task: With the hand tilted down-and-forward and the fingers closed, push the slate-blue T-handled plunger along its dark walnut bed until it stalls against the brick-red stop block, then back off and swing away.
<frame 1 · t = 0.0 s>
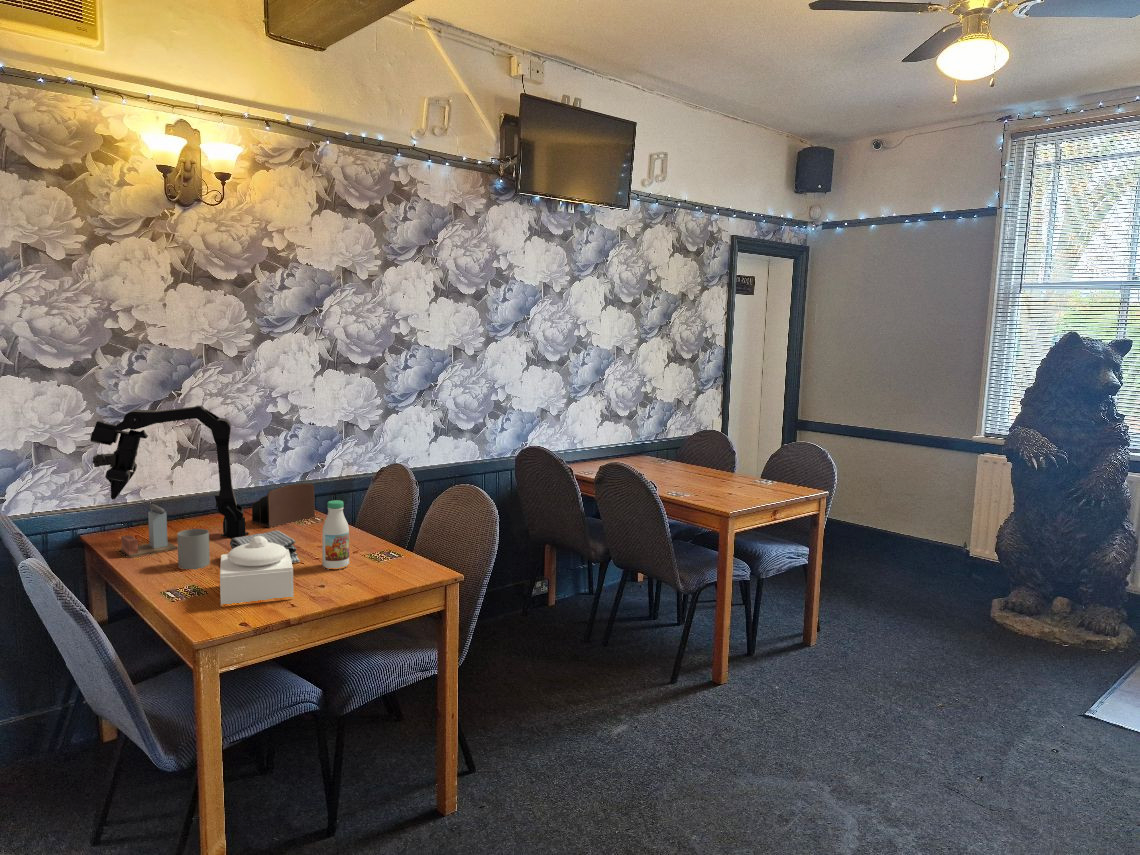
hand: (115, 495, 246), 15 cm above the table, tool pointing down, fingers open, 9 cm apart
bed: (158, 548, 244), on the table
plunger: (157, 526, 243), point 7 cm above the table, slide at 0.0 cm
cup: (194, 565, 229), on the table
letter holder: (284, 521, 282), on the table
towel: (264, 562, 236), on the table
butter dish: (256, 593, 209), on the table
milk bottle: (335, 567, 232), on the table
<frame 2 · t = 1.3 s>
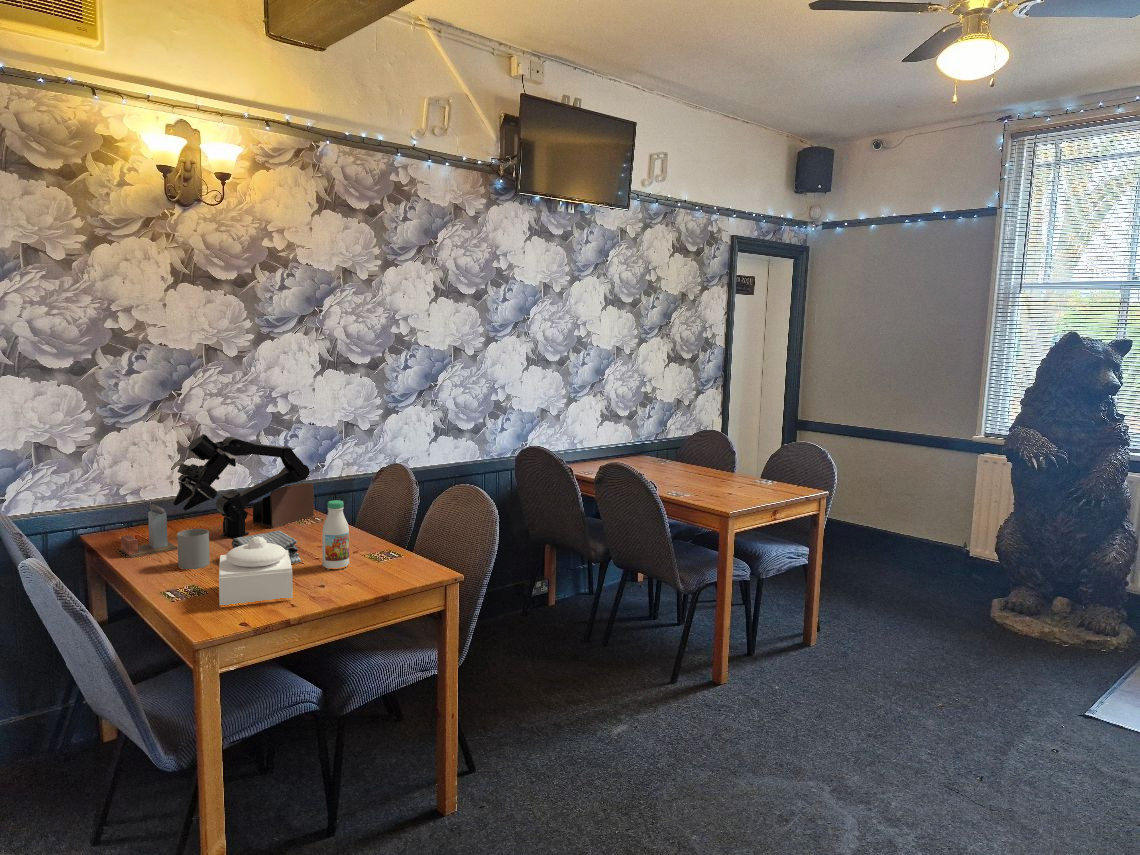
hand: (179, 507, 247), 12 cm above the table, tool tilted 45°, fingers open, 8 cm apart
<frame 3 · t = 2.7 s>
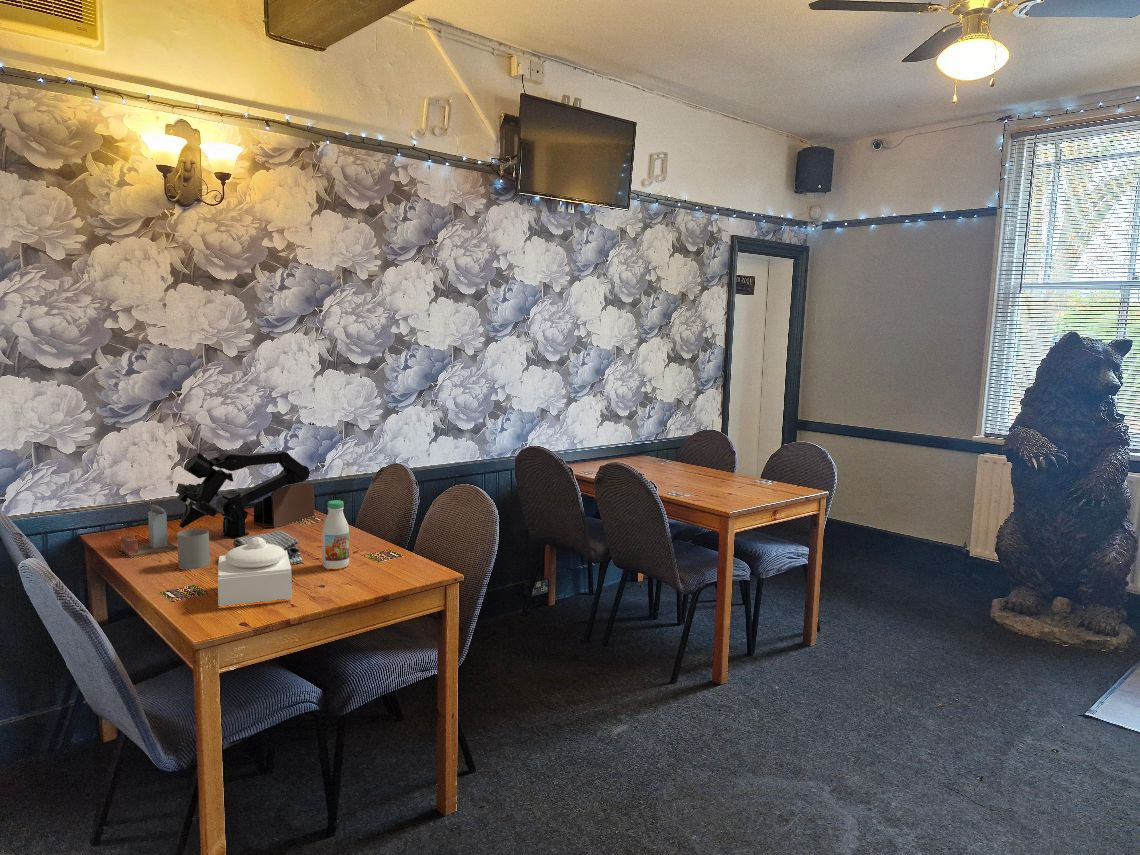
hand: (180, 527, 248), 6 cm above the table, tool tilted 40°, fingers closed
letter holder: (284, 521, 282), on the table, touching arm
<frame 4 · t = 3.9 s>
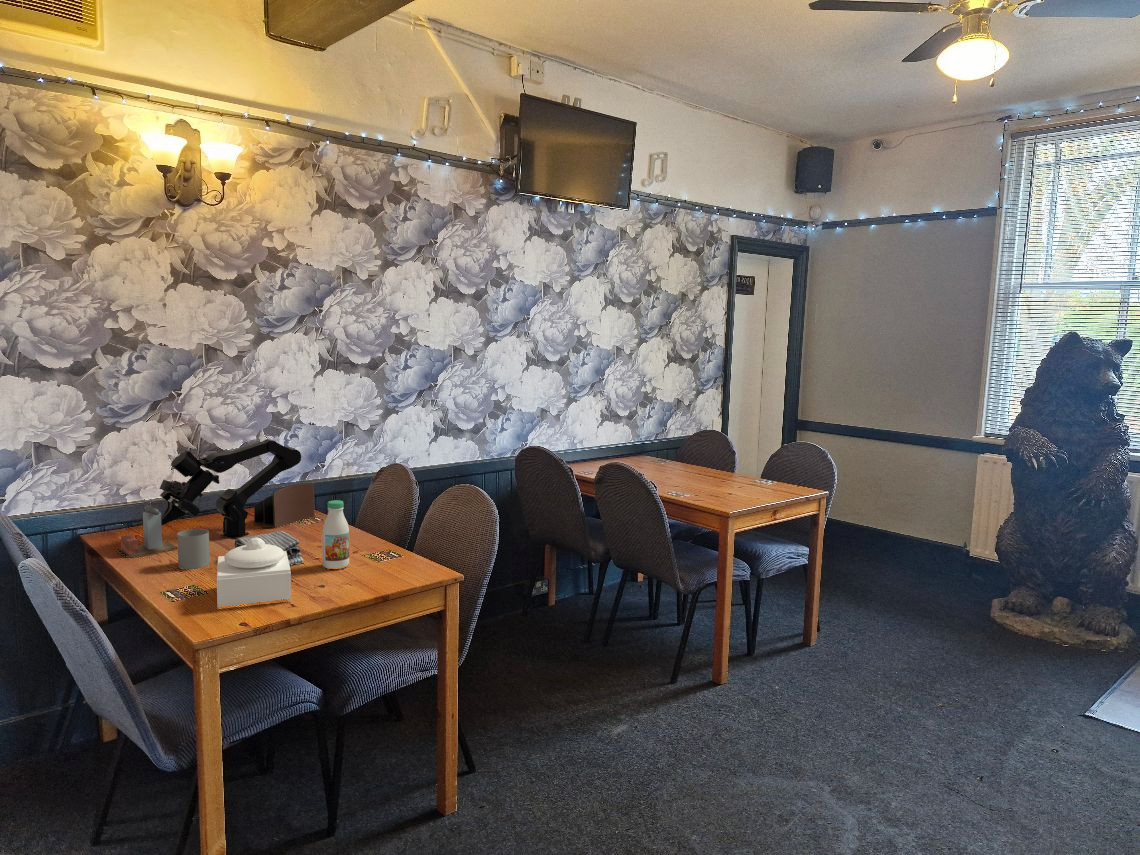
hand: (160, 524, 243), 8 cm above the table, tool tilted 45°, fingers closed, pressing on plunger
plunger: (152, 527, 242), point 7 cm above the table, slide at 1.6 cm, touching gripper
letter holder: (285, 521, 282), on the table
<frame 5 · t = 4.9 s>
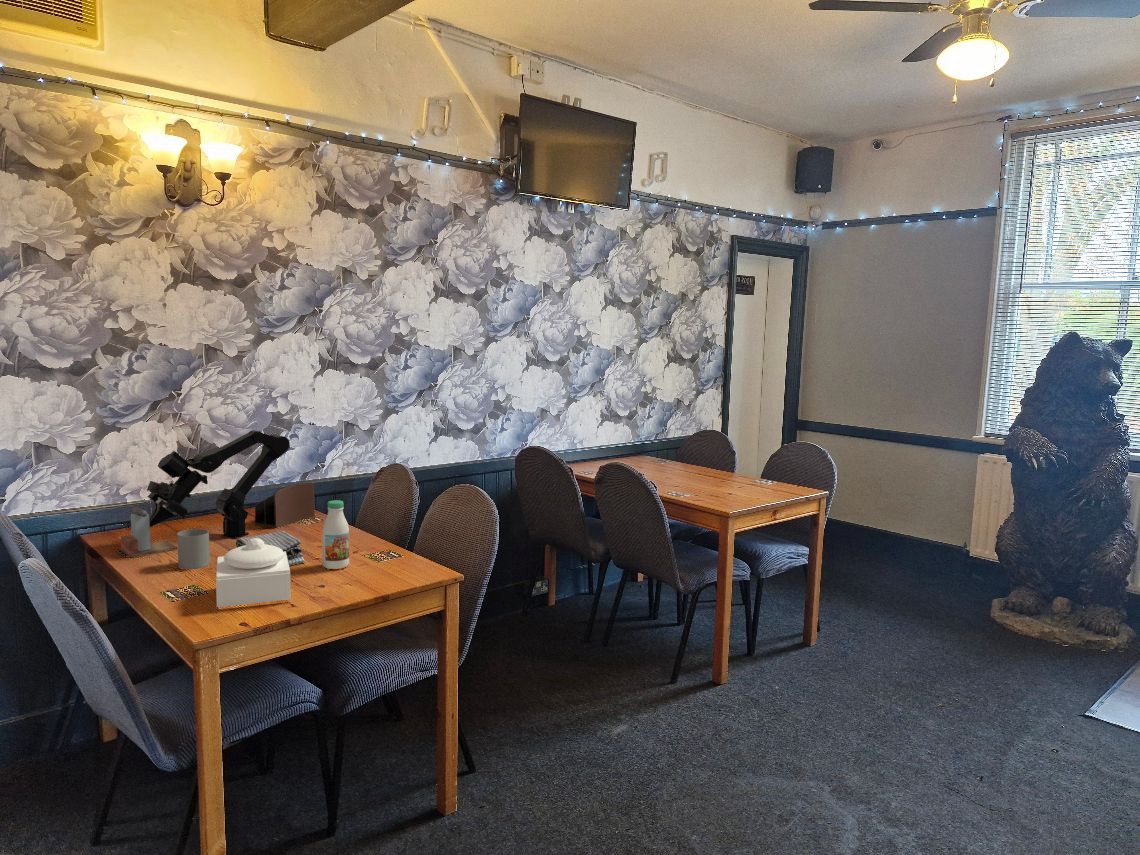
hand: (148, 526, 241), 8 cm above the table, tool tilted 45°, fingers closed, pressing on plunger
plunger: (140, 528, 239), point 7 cm above the table, slide at 5.0 cm, touching bed, gripper
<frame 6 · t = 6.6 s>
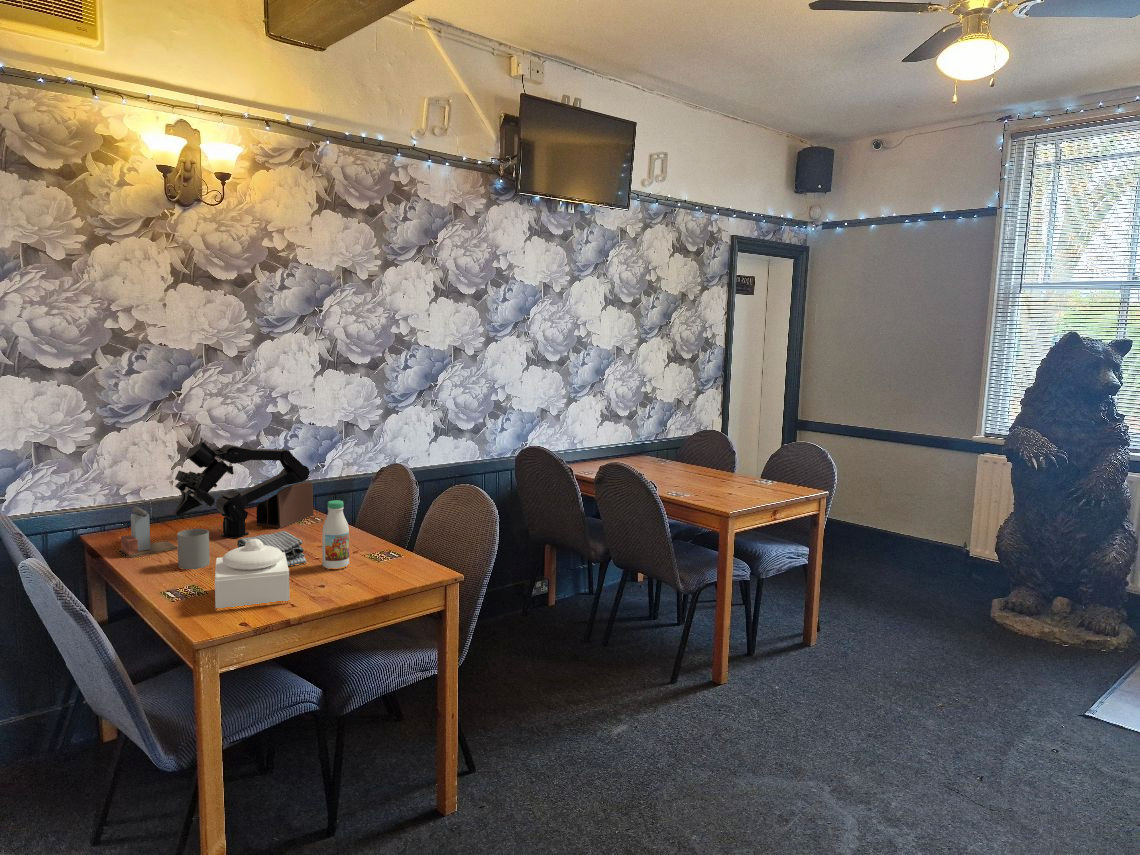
hand: (176, 514, 246), 10 cm above the table, tool tilted 45°, fingers closed
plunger: (140, 528, 239), point 7 cm above the table, slide at 5.0 cm, touching bed
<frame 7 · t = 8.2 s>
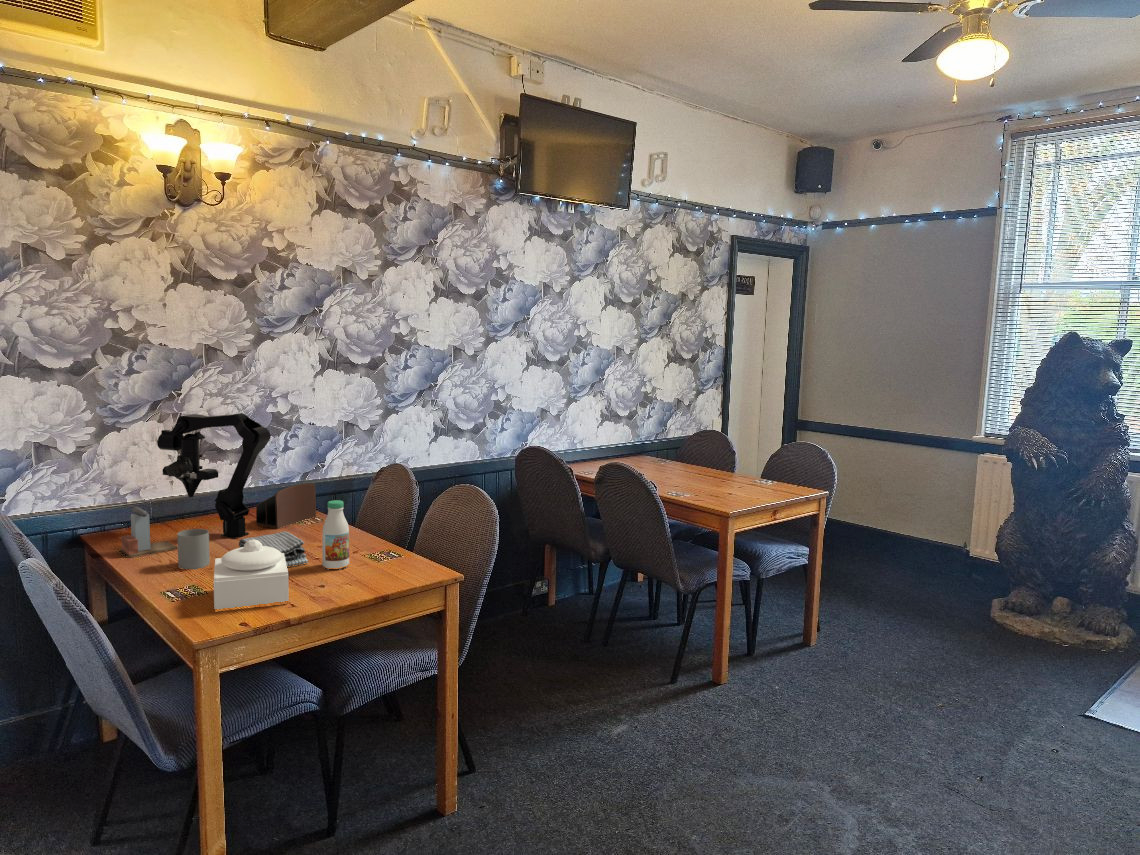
hand: (190, 497, 262), 12 cm above the table, tool pointing down, fingers closed
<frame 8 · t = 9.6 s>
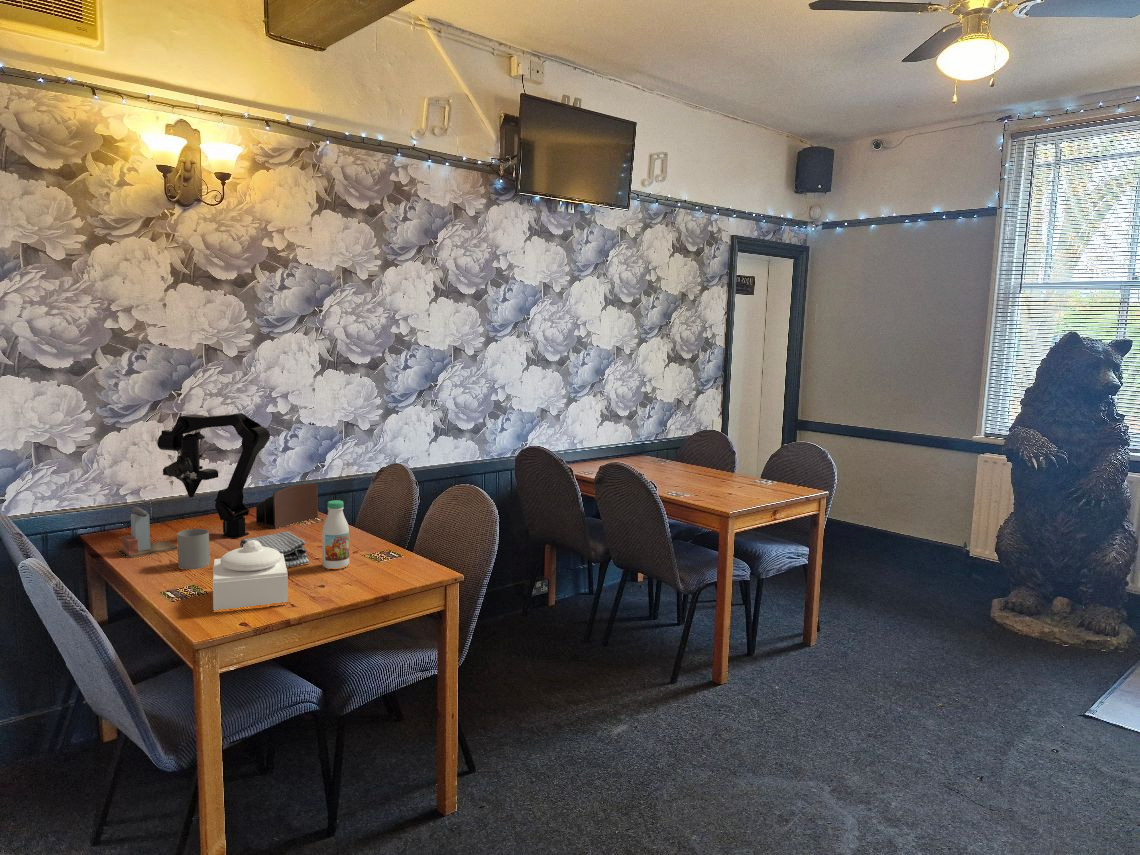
hand: (191, 497, 263), 12 cm above the table, tool pointing down, fingers closed
at the end: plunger slide at 5.0 cm; the gripper is holding nothing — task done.
